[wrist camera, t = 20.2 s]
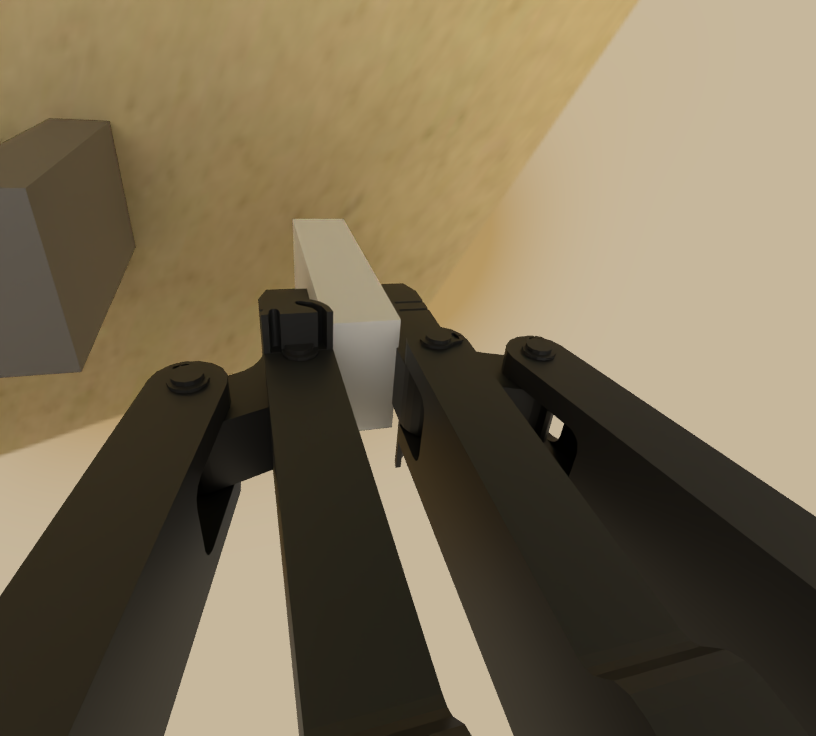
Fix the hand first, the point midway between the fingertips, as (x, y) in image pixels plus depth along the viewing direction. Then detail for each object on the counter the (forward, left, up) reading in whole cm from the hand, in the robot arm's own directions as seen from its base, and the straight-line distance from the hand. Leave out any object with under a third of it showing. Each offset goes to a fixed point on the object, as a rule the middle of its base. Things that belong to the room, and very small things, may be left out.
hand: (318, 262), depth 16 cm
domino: (-8, 0, -9) cm, 12 cm away
